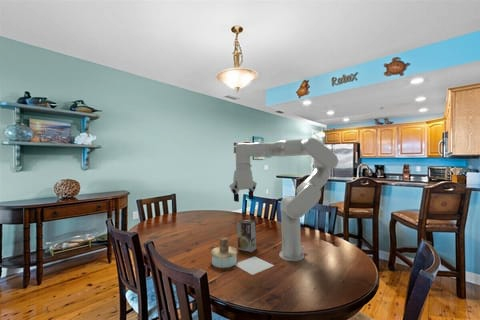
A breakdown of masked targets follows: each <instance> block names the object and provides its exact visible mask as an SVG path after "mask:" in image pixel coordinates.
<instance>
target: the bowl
mask: <svg viewBox="0 0 480 320" xmlns="http://www.w3.org/2000/svg"><path fill="white" fill-rule="evenodd" d="M236 263H238V262H237V254H236V255H235V256H233V257H230V258H216V257H213V256H212V255H211V265H212V266H214V267H216V268H220V269H221V268H222V269H223V268H224V269H225V268H231V267H232V266H233V267H234V266H236V265H235V264H236Z"/></svg>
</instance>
